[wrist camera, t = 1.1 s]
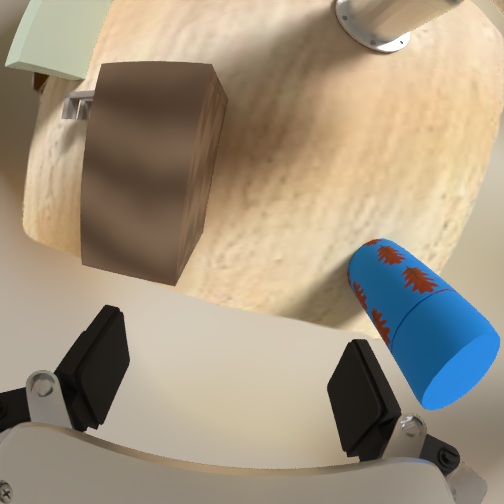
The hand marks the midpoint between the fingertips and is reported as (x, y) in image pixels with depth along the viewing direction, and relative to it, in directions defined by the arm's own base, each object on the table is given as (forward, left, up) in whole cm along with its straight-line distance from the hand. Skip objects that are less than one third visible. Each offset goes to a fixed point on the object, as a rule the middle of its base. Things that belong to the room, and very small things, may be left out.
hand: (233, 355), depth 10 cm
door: (-24, -30, -29) cm, 48 cm away
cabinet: (-4, -16, -29) cm, 33 cm away
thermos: (+6, +23, -29) cm, 37 cm away
